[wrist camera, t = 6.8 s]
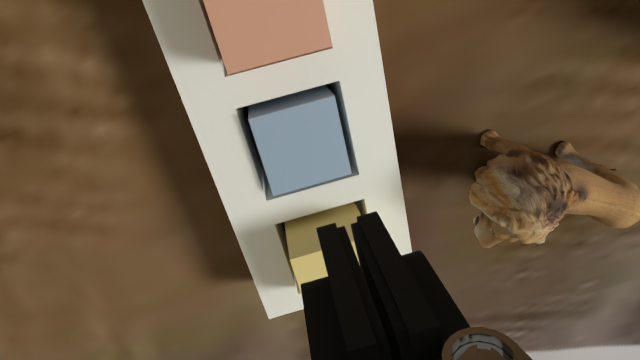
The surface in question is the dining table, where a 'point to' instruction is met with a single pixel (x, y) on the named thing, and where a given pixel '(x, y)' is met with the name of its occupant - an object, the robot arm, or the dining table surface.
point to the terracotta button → (266, 30)
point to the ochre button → (315, 240)
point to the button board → (239, 147)
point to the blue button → (299, 139)
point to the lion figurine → (545, 193)
